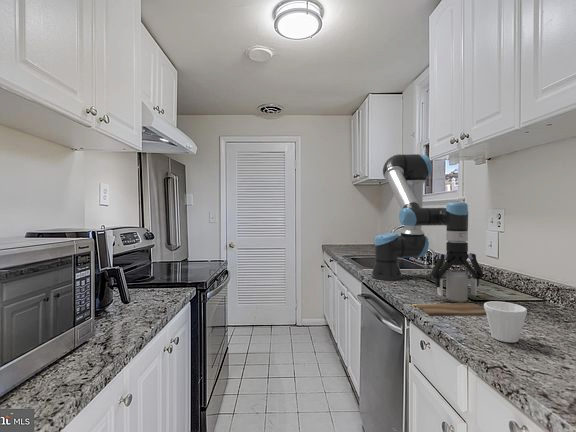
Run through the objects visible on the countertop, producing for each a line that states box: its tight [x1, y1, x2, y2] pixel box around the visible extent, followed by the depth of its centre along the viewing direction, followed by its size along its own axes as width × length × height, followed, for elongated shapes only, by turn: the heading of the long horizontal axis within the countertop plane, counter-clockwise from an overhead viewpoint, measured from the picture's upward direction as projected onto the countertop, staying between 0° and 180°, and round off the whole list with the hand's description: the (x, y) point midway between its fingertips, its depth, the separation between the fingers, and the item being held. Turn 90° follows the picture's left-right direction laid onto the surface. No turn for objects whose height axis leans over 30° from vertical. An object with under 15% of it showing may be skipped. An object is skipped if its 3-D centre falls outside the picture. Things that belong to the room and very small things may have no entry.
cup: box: [483, 300, 528, 344], centre depth 89 cm, size 10×10×9 cm
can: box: [445, 269, 469, 304], centre depth 126 cm, size 8×8×12 cm
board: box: [416, 303, 487, 317], centre depth 114 cm, size 10×22×1 cm, turn 91°
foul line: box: [411, 302, 476, 307], centre depth 120 cm, size 1×24×1 cm, turn 91°
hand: (456, 295), depth 126 cm, fingers open, 13 cm apart
